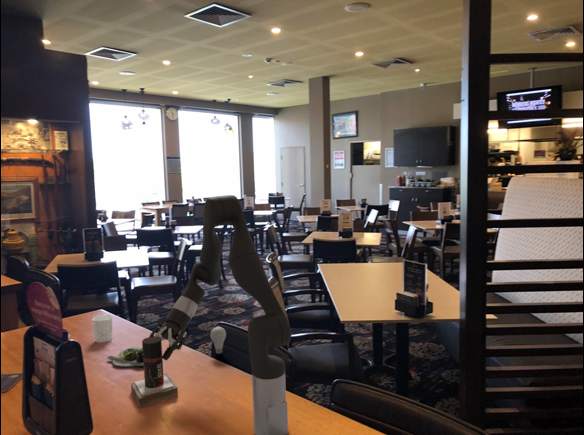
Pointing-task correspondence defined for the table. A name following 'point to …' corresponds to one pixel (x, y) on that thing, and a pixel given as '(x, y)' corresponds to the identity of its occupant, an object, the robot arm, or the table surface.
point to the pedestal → (154, 392)
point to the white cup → (102, 328)
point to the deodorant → (153, 362)
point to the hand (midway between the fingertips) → (156, 355)
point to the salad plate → (129, 358)
